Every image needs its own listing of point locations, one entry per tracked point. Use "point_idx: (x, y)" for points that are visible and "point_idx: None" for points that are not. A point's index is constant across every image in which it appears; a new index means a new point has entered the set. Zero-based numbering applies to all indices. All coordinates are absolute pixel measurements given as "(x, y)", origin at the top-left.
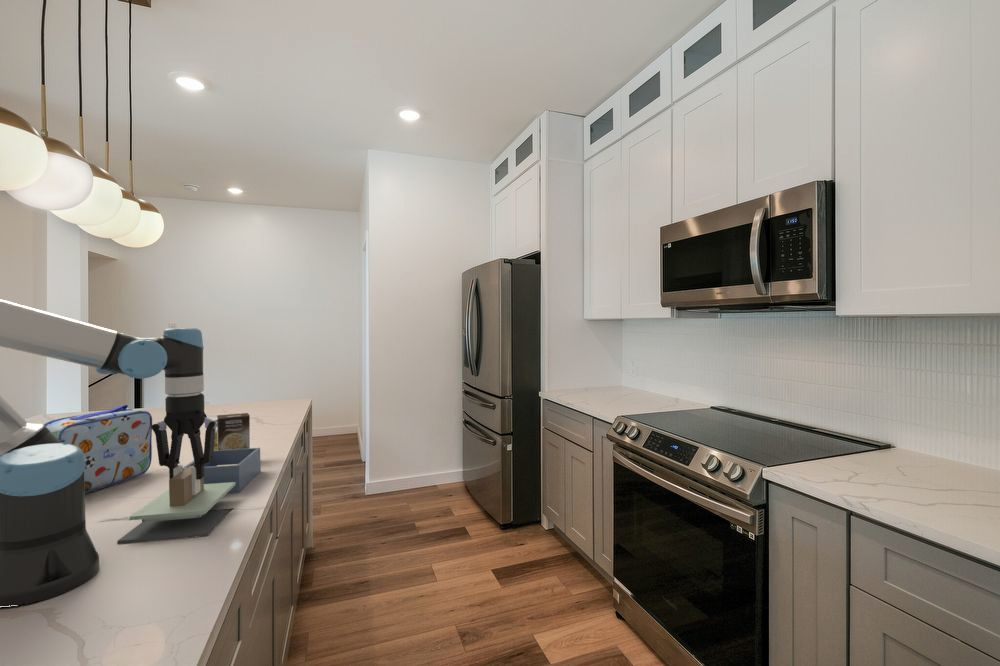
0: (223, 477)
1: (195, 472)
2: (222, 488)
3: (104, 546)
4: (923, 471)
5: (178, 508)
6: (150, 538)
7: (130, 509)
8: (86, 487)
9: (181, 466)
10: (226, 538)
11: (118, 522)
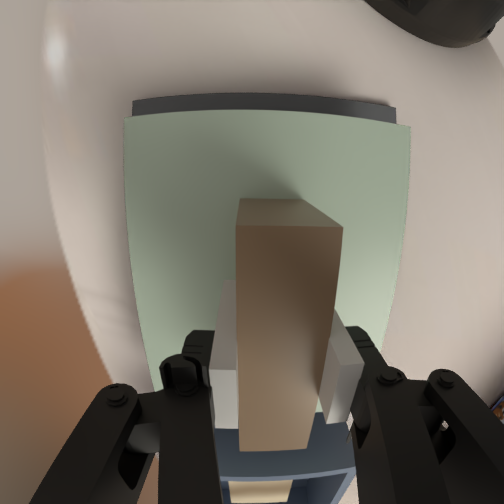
0: (221, 446)
1: (214, 350)
2: None
3: (414, 104)
4: None
5: (251, 163)
6: (307, 96)
7: (434, 349)
8: (496, 412)
9: (327, 409)
10: (82, 85)
11: (442, 271)
